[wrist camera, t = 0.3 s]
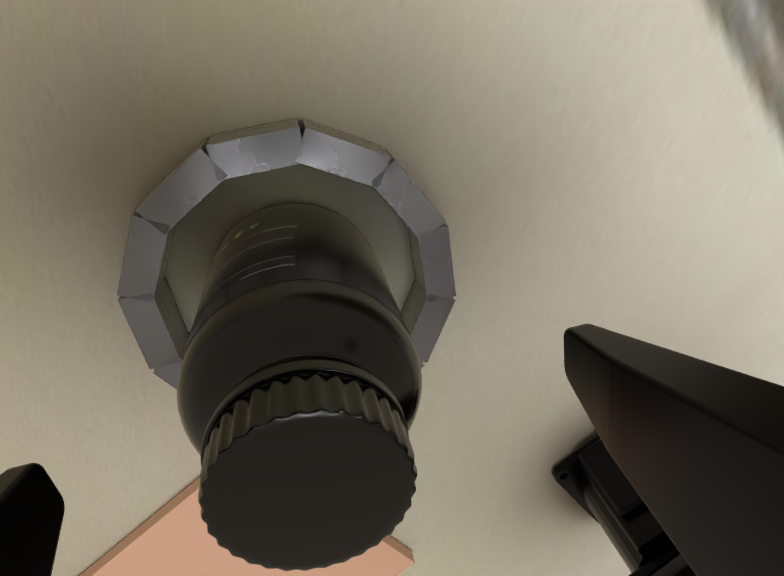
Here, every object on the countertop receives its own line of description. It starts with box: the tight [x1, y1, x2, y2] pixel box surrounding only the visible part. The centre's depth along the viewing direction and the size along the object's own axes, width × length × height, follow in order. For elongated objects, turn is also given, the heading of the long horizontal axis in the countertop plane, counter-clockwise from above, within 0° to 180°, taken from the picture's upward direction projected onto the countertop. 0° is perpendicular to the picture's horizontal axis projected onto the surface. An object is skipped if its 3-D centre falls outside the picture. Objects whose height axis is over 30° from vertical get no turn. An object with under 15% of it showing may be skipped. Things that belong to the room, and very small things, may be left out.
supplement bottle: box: [177, 204, 422, 571], centre depth 17 cm, size 7×7×12 cm
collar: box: [117, 118, 456, 389], centre depth 21 cm, size 12×12×2 cm
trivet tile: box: [79, 477, 415, 576], centre depth 29 cm, size 13×13×1 cm
